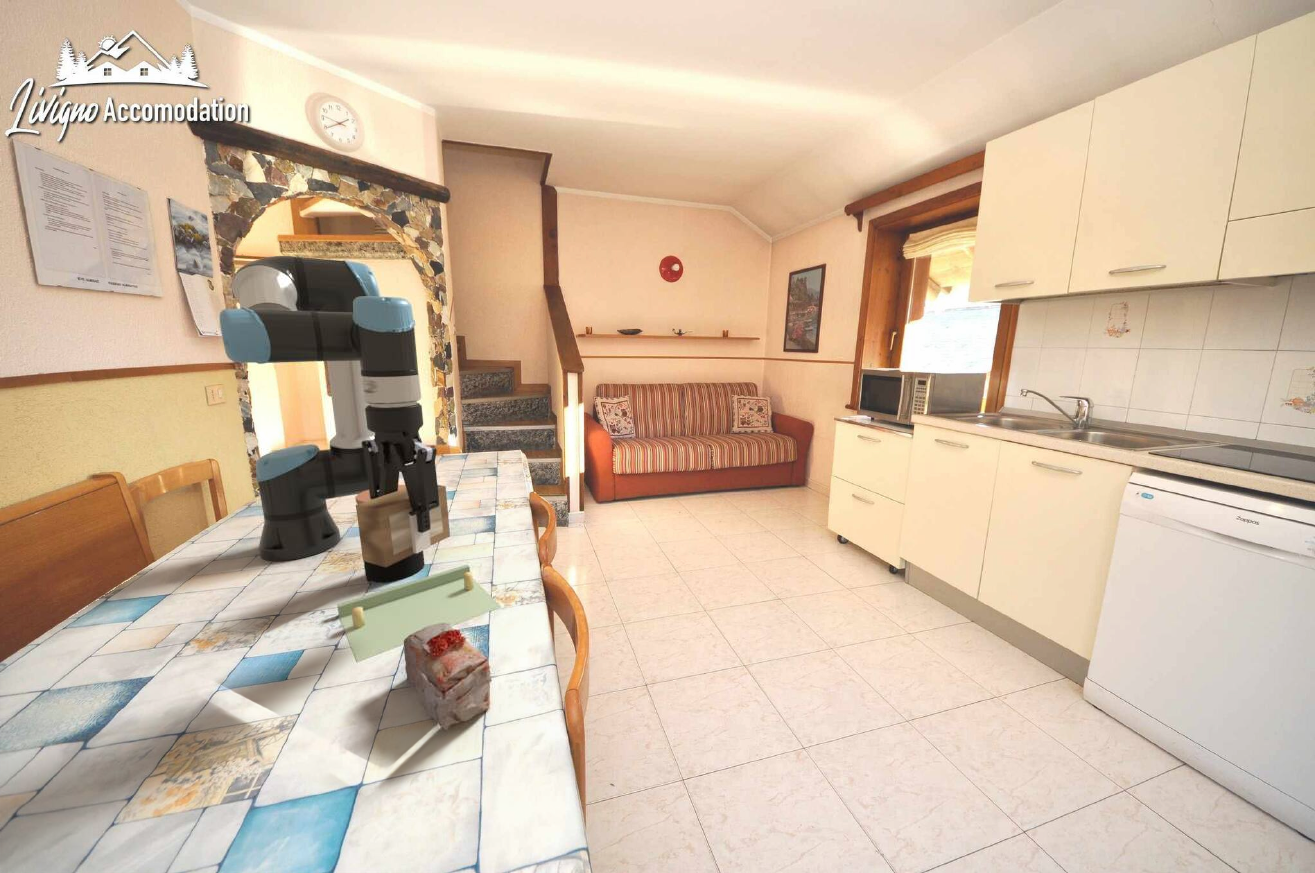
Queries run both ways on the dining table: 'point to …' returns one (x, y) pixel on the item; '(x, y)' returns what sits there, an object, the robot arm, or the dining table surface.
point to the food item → (447, 674)
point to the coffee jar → (398, 569)
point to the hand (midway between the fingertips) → (409, 545)
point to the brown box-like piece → (396, 526)
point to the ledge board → (412, 610)
